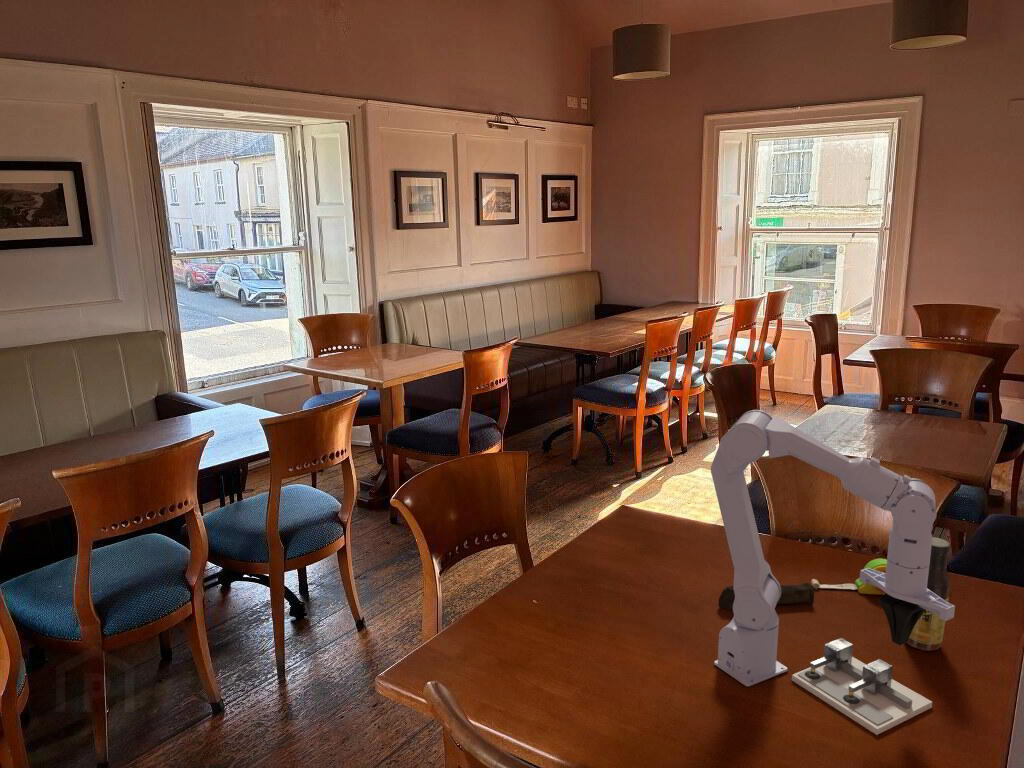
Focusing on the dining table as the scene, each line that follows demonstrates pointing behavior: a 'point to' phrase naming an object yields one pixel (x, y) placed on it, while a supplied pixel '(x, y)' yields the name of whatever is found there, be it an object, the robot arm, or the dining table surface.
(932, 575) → the sauce bottle
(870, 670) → the grey sliding bolt
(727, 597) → the hand tool
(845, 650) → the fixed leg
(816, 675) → the board
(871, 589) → the toy measuring tape
